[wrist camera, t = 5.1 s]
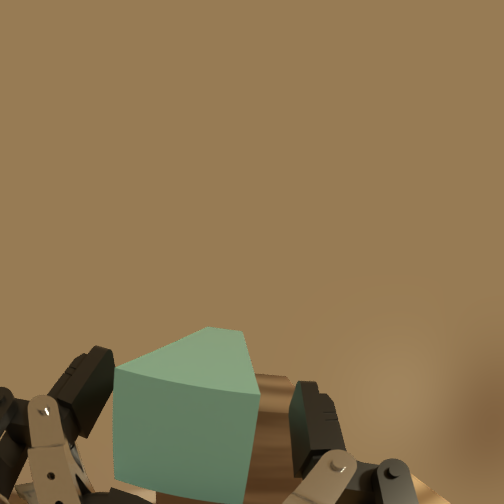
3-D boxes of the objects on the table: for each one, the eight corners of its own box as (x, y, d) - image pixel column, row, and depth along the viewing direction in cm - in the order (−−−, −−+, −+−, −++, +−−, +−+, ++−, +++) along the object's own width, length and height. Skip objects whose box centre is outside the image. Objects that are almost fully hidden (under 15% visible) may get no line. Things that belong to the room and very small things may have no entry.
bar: (242, 505, 6) (260, 394, 7) (114, 479, 6) (114, 367, 7) (238, 364, 31) (242, 331, 32) (203, 359, 31) (207, 326, 32)
